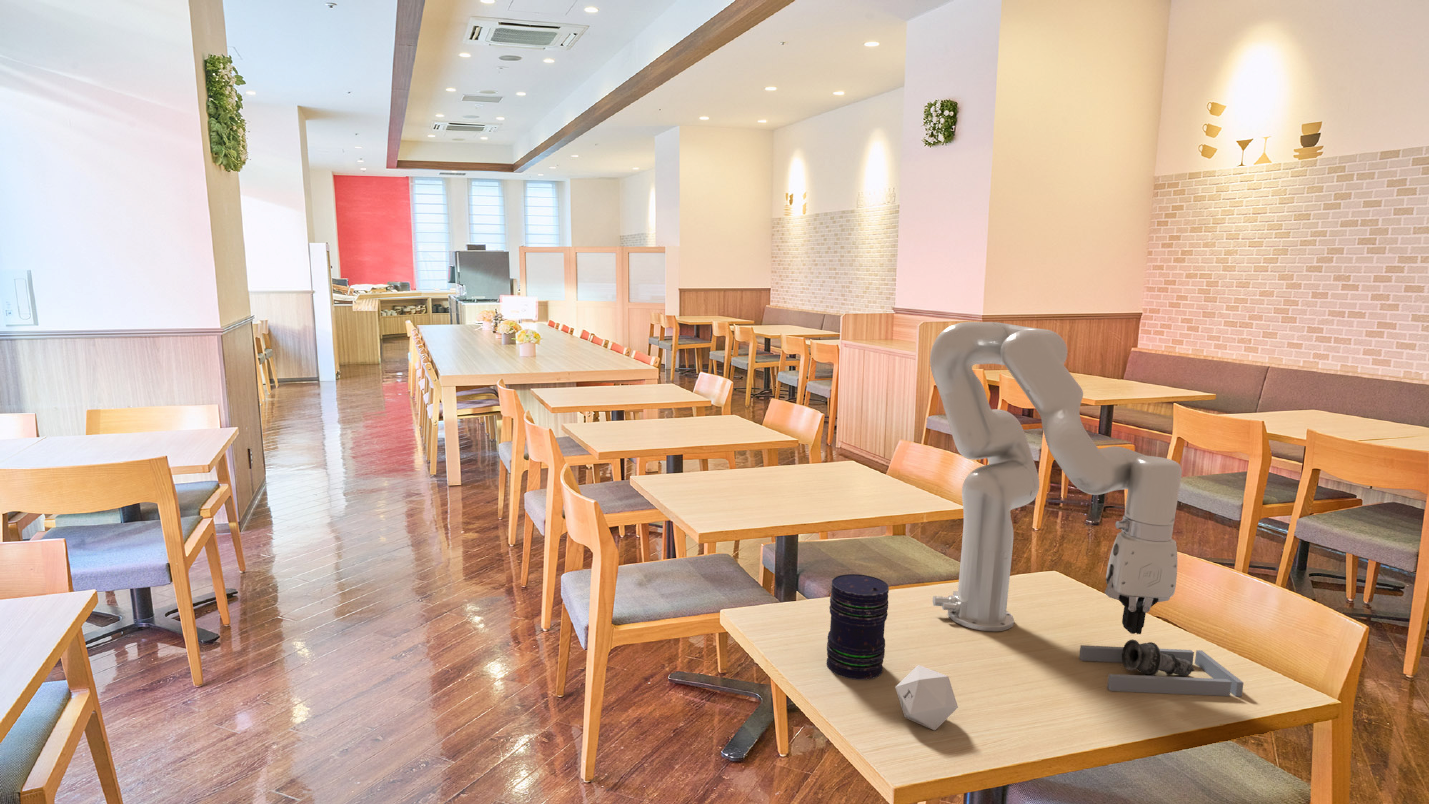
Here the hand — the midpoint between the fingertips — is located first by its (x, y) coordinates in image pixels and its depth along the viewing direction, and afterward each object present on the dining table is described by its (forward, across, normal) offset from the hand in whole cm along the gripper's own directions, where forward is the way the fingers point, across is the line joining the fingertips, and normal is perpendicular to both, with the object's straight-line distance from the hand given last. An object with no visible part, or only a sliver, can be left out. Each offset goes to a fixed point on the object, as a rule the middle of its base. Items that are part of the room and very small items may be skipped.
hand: (1131, 630), depth 143 cm
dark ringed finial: (+4, 0, 0) cm, 4 cm away
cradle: (+8, +4, -1) cm, 9 cm away
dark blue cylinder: (+9, -48, -1) cm, 49 cm away
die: (+9, -40, -18) cm, 45 cm away
